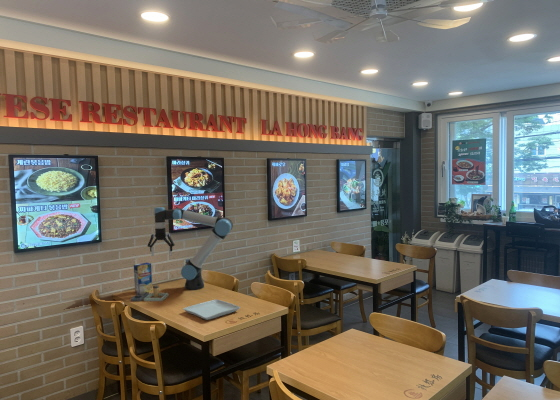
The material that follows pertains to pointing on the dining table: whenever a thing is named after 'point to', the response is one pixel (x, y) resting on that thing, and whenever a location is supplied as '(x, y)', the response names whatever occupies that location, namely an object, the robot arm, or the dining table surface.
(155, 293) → the fuse
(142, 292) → the fuse
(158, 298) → the parts tray
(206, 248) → the robot arm
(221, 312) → the square plate
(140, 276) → the beverage box
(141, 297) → the fuse block
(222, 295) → the dining table surface
